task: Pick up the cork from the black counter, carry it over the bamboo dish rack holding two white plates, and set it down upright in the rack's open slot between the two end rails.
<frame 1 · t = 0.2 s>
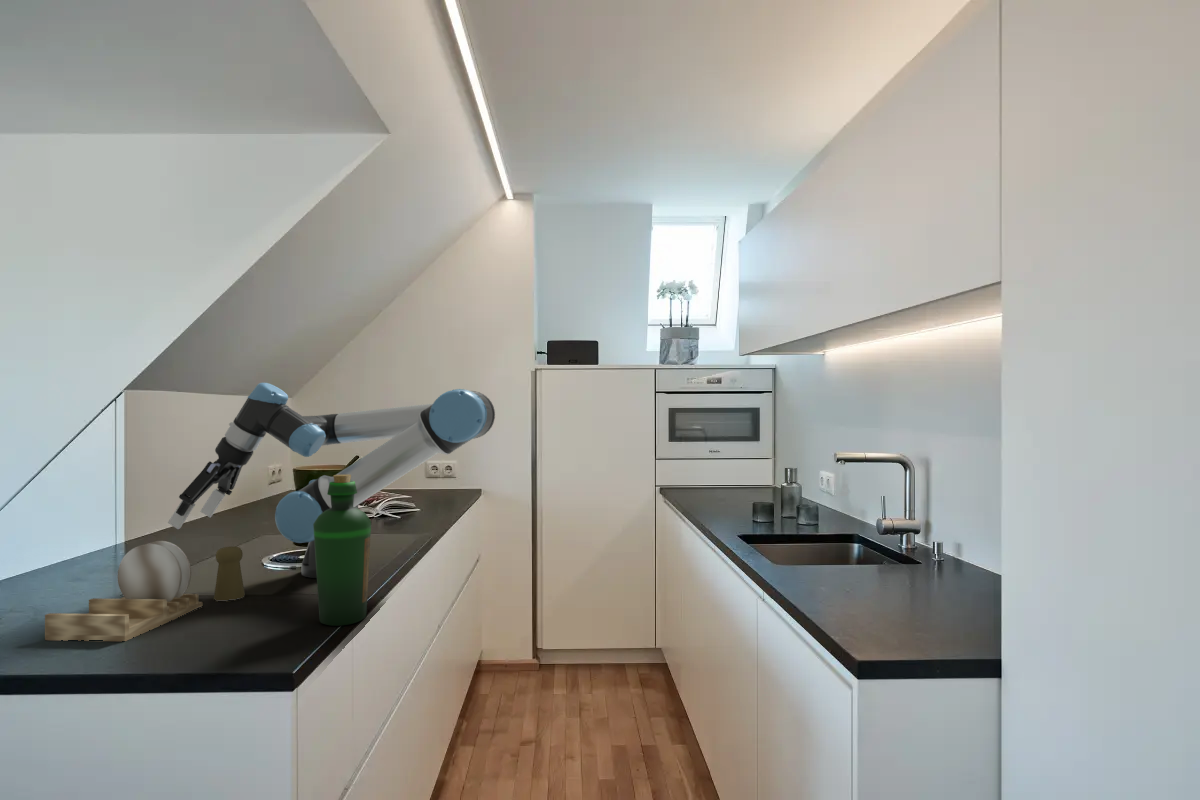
hand: (190, 519, 168), 15 cm above the counter, tool tilted 35°, fingers open, 13 cm apart
rack: (129, 622, 138), on the counter
cork: (229, 598, 156), on the counter
bottle: (342, 621, 138), on the counter
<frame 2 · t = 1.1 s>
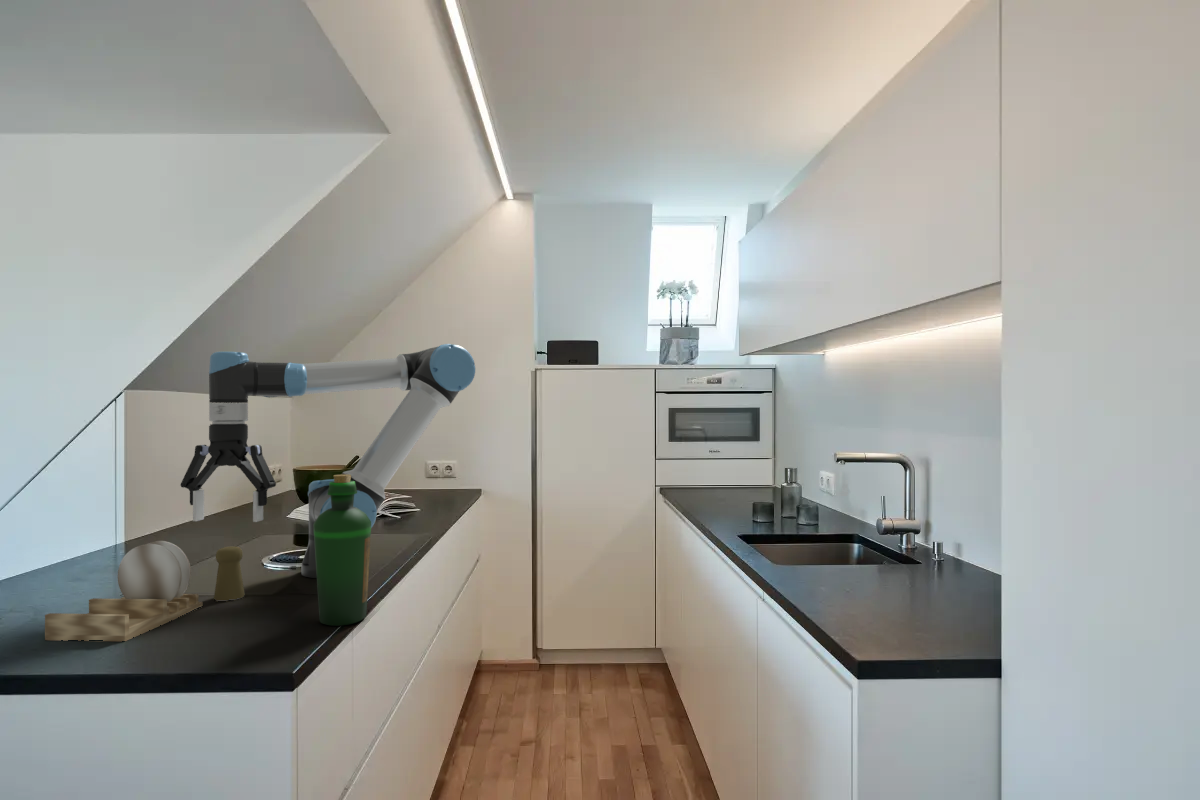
hand: (228, 520, 156), 17 cm above the counter, tool pointing down, fingers open, 13 cm apart
nothing on the counter moved.
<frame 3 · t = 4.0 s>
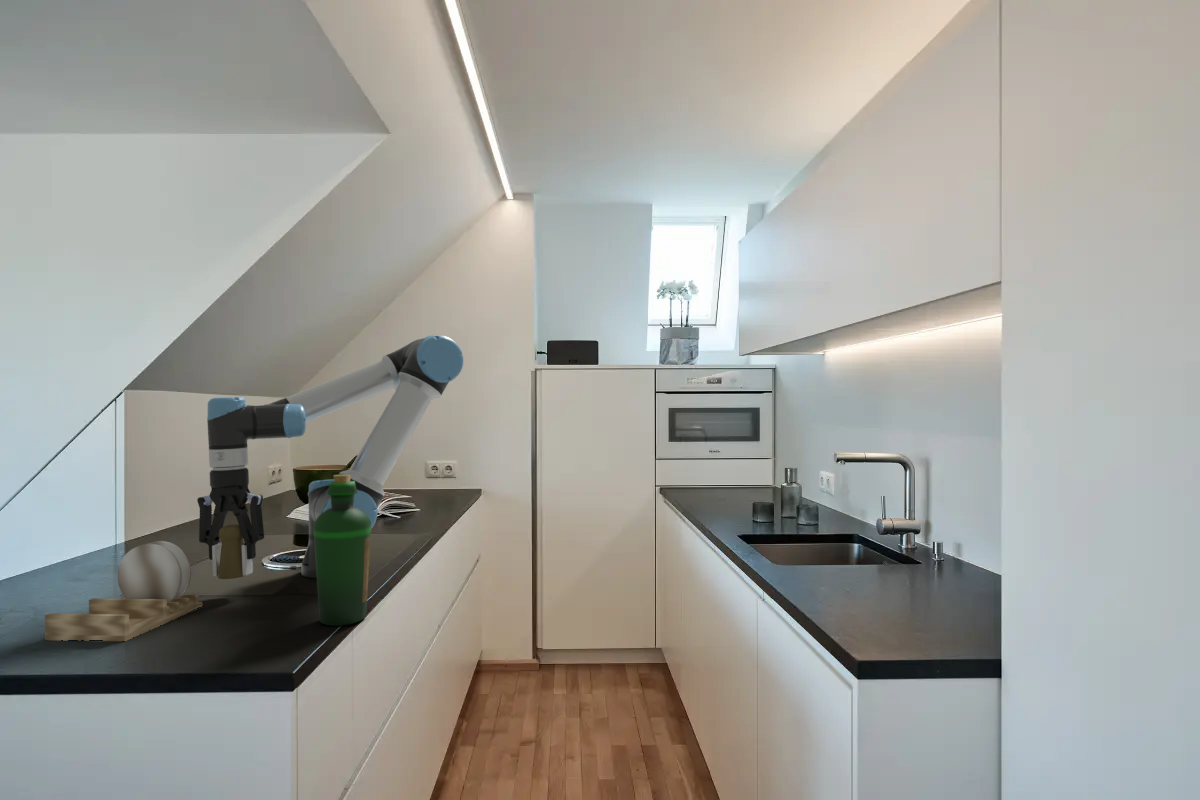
hand: (233, 574, 156), 5 cm above the counter, tool pointing down, fingers closed on cork, 6 cm apart
cork: (233, 576, 156), point 5 cm above the counter, touching gripper
everything else where it was.
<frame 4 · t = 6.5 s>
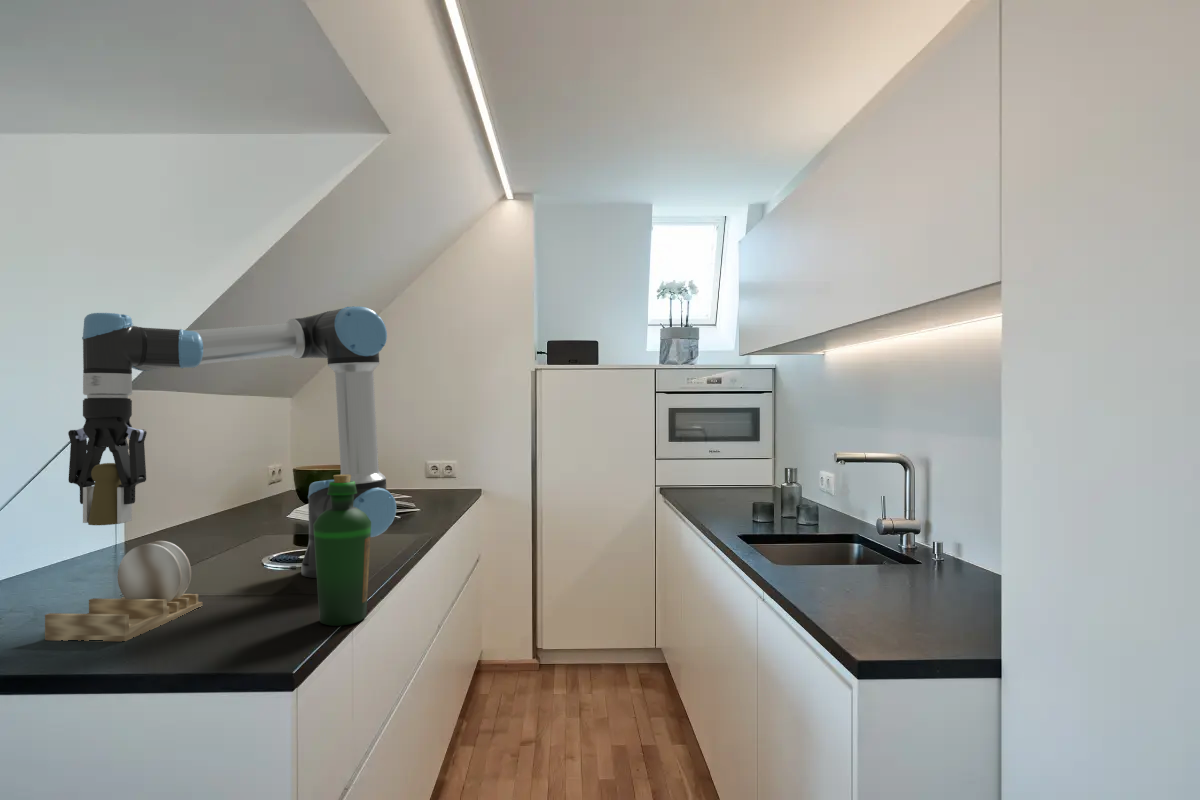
hand: (107, 521, 133), 20 cm above the counter, tool pointing down, fingers closed on cork, 6 cm apart
cork: (108, 523, 133), point 20 cm above the counter, touching gripper
everything else where it was.
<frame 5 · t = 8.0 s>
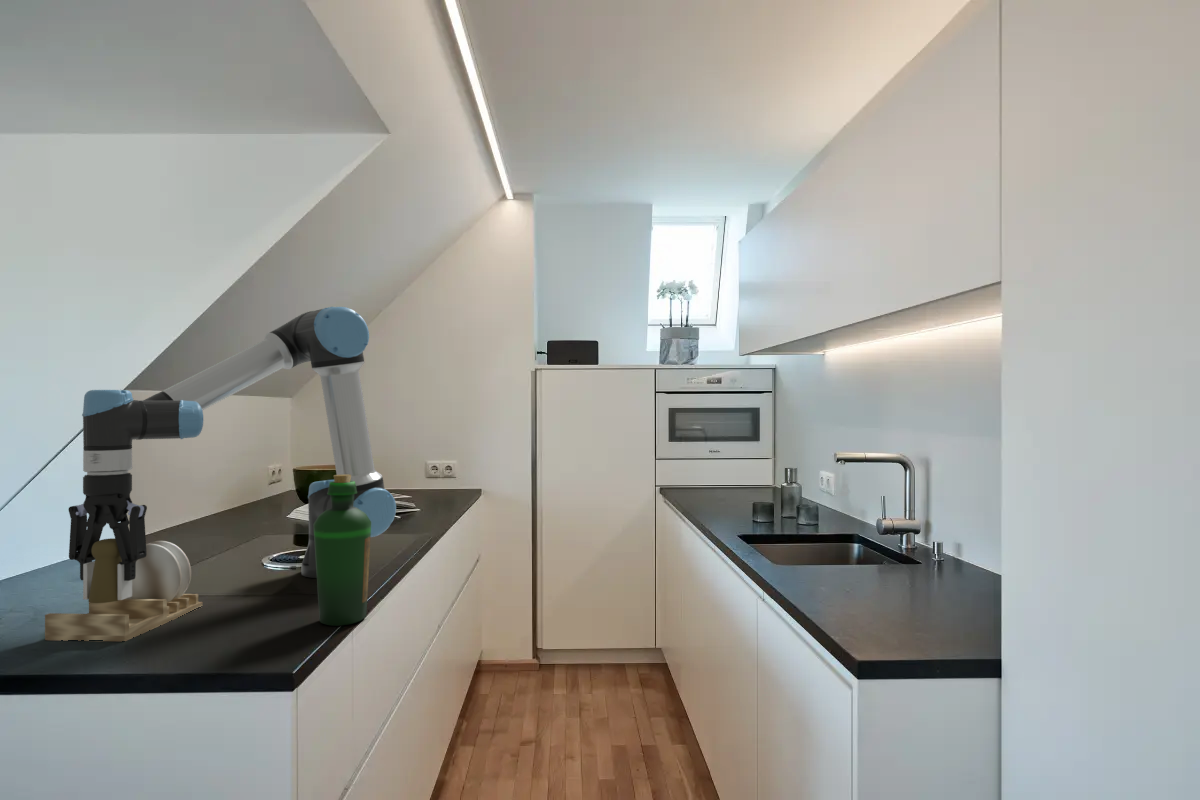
hand: (107, 597, 133), 6 cm above the counter, tool pointing down, fingers closed on cork, 6 cm apart
cork: (108, 599, 133), point 6 cm above the counter, touching gripper
everything else where it was.
when the fingers open (2 cm above the counter, at t = 9.0 s): cork drops 1 cm, resting on rack.
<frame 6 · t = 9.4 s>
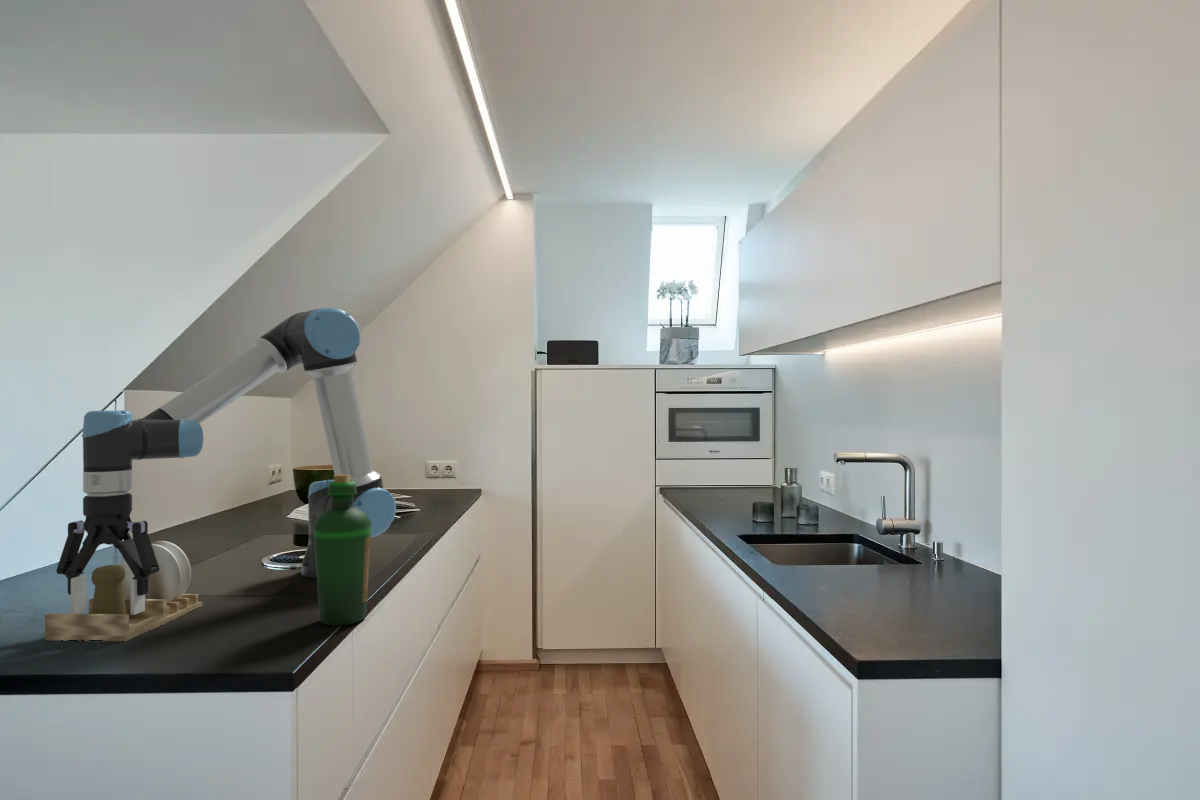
hand: (108, 612, 133), 3 cm above the counter, tool pointing down, fingers open, 11 cm apart
cork: (108, 626, 133), point 1 cm above the counter, touching rack
everything else where it was.
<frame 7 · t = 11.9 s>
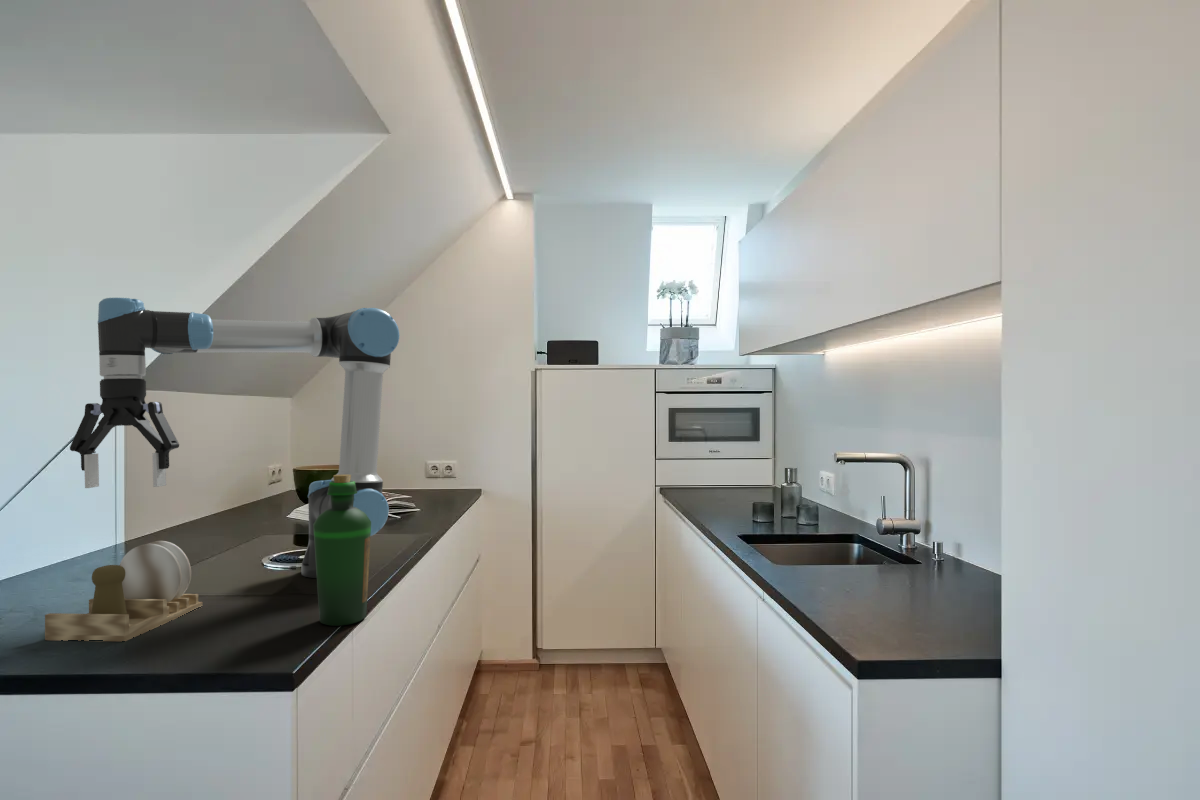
hand: (125, 486, 140), 26 cm above the counter, tool pointing down, fingers open, 13 cm apart
nothing on the counter moved.
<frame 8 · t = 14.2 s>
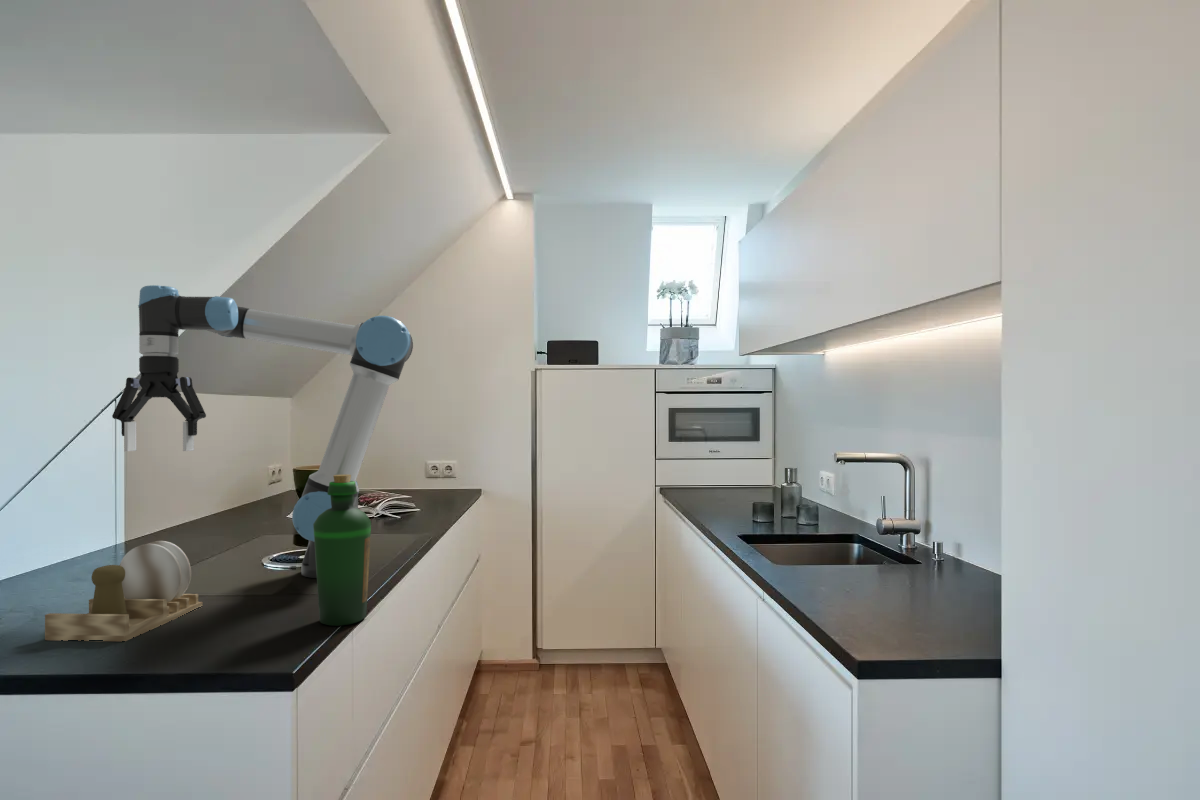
hand: (159, 451, 160), 32 cm above the counter, tool pointing down, fingers open, 13 cm apart
nothing on the counter moved.
at the end: cork inside the target area on the rack (0.2 cm from its centre), point 0.8 cm above the rack's base; cork tilted 0°; the gripper is holding nothing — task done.
